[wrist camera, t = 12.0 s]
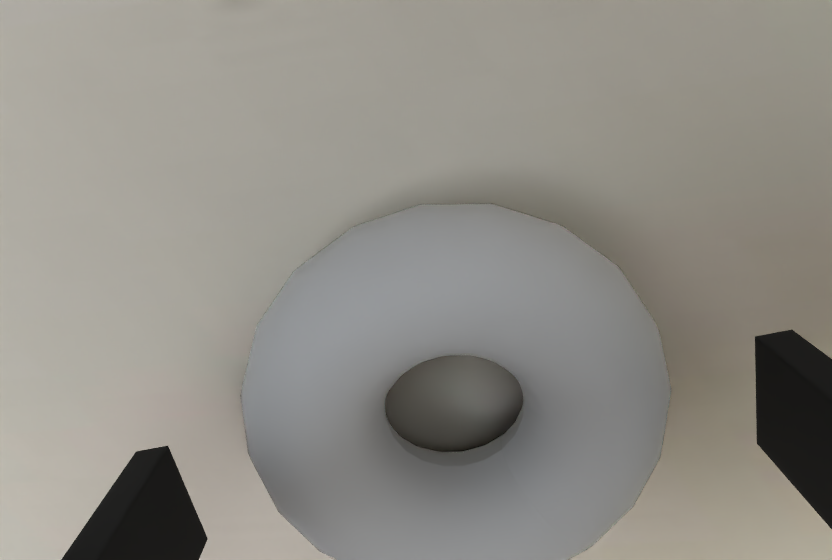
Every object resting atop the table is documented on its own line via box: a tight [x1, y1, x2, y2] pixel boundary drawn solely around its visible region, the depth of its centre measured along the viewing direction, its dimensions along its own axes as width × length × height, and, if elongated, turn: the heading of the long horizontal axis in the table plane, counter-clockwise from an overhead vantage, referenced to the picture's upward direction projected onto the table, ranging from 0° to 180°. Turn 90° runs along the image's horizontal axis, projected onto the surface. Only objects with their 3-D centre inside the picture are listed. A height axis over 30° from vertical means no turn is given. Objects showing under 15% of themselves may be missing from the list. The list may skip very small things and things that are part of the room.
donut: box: [241, 204, 671, 560], centre depth 14 cm, size 10×4×10 cm
